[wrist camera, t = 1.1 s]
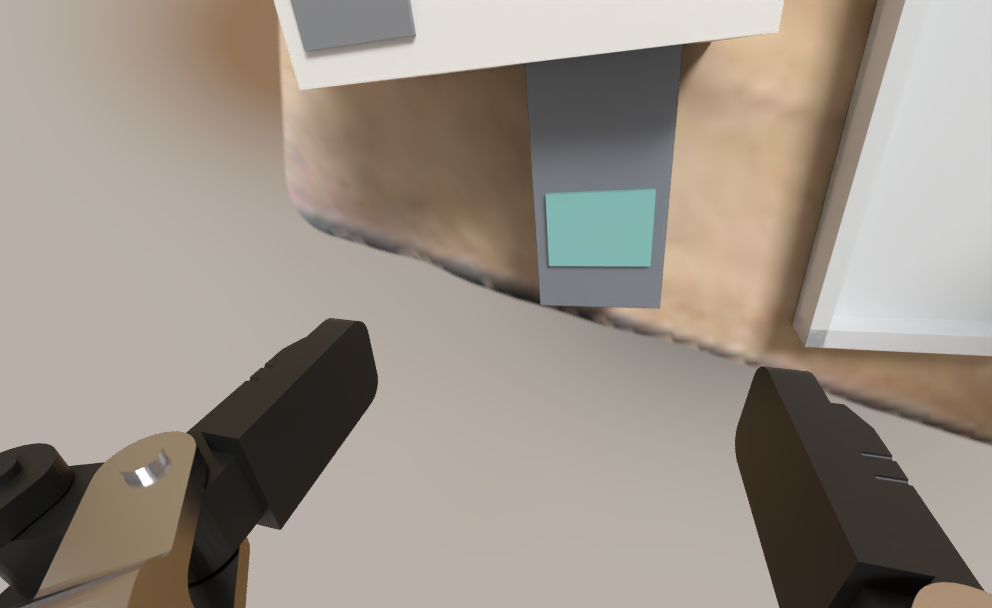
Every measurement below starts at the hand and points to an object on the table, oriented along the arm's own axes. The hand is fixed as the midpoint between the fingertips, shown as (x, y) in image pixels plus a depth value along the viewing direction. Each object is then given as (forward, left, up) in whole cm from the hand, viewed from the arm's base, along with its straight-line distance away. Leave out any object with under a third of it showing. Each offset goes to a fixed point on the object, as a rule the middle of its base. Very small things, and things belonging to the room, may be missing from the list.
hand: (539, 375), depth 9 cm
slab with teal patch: (-1, -3, -16) cm, 16 cm away
